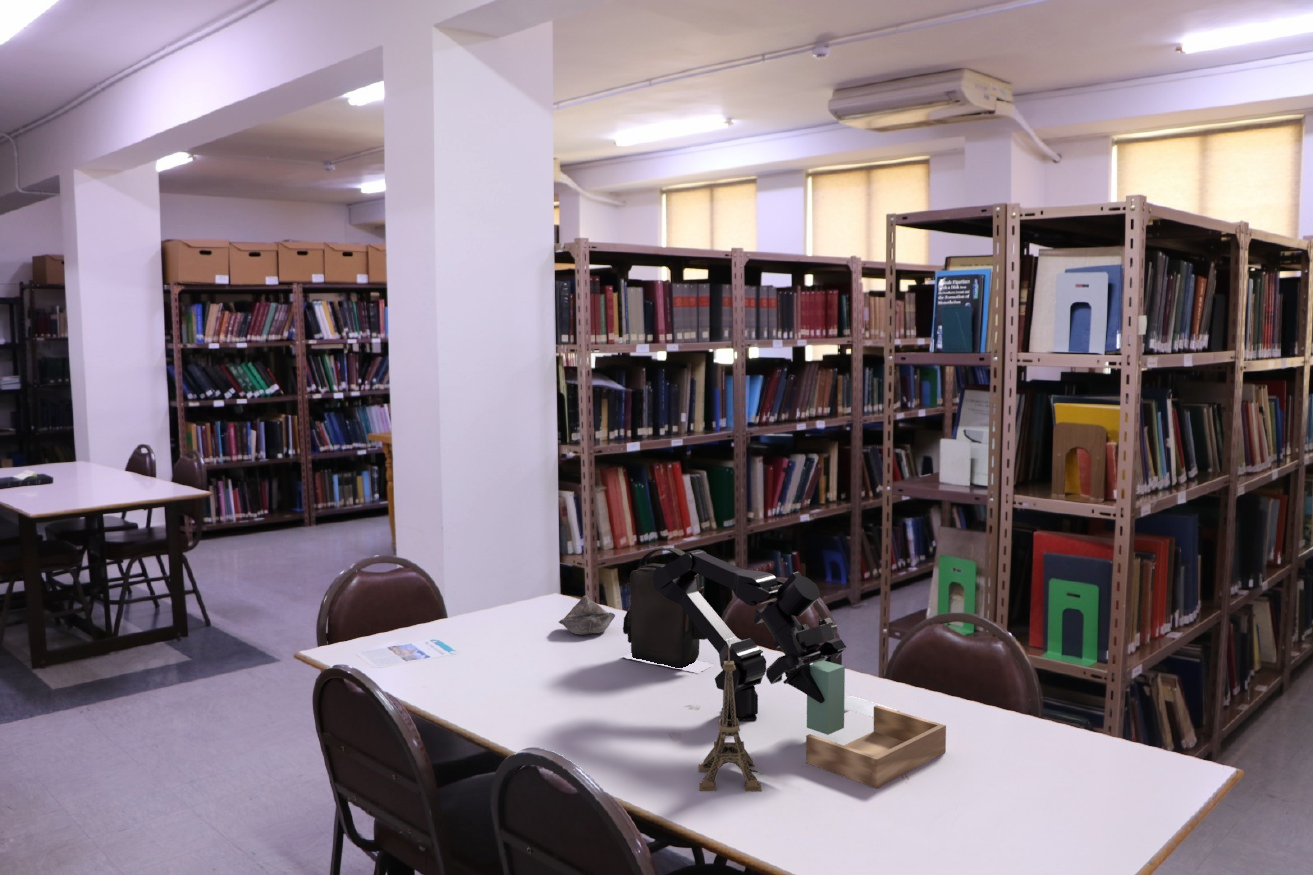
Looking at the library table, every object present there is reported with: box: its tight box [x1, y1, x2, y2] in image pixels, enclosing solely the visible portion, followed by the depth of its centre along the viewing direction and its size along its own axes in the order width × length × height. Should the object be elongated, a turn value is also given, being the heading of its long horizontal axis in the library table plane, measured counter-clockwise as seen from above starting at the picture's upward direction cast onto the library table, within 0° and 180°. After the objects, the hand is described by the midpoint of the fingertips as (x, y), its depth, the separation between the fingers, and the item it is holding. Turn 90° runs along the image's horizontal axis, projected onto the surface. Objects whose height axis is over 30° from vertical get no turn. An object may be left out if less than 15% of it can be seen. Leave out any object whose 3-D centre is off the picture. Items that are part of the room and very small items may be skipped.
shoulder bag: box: [622, 546, 708, 668], centre depth 242 cm, size 23×9×28 cm, turn 57°
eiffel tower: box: [698, 650, 763, 792], centre depth 174 cm, size 11×11×25 cm
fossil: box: [558, 595, 616, 635], centre depth 269 cm, size 15×14×10 cm
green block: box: [806, 660, 846, 736], centre depth 189 cm, size 5×5×12 cm
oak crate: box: [805, 705, 947, 789], centre depth 181 cm, size 15×22×6 cm
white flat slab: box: [844, 695, 901, 718], centre depth 207 cm, size 2×8×12 cm
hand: (831, 698), depth 188 cm, fingers closed on green block, 5 cm apart
